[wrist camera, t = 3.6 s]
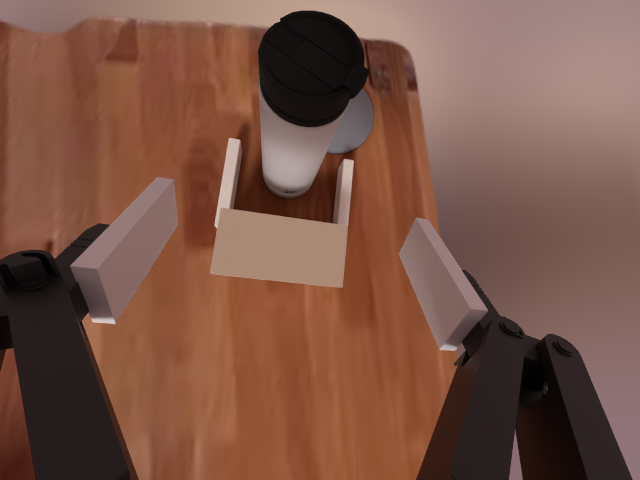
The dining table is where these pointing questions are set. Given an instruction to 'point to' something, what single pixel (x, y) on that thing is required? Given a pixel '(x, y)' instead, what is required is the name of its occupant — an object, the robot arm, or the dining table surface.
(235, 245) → the beige u-shaped block
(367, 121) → the coaster
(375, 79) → the dining table surface
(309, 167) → the travel mug
